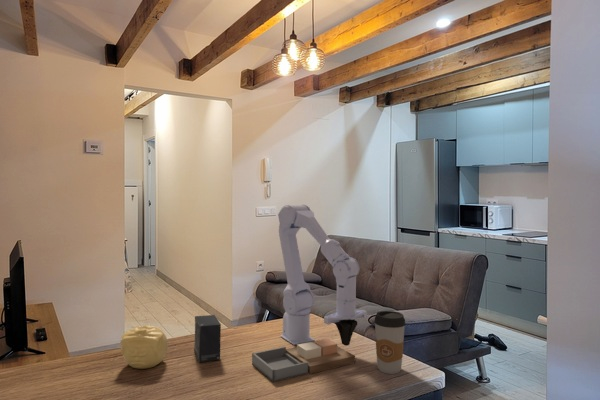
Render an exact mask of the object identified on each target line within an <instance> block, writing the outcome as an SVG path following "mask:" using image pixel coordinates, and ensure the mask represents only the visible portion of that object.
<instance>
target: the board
mask: <svg viewBox="0 0 600 400" xmlns="http://www.w3.org/2000/svg"><path fill="white" fill-rule="evenodd" d="M286 353H287V354H289V355H290V356H292V357H293V358H295V359H296V360H297V361H299V362H300V363H303V362H308V374H309V375H312V374H316V373H320V372H324V371H328V370H332V369H337V368H339V367H344V366H348V365H352V364H356V355H354V354H352V353H351V352H349V351H347V350H345V349H344V348H341V347H340V346H338V345H337V353H333V354H328V355H324V356H322V355H321V356H319V357H315V358H311V359H305V358H303V357H302V356H300V355H299V354H297V346H294V347H290V348H286Z"/></svg>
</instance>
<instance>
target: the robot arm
mask: <svg viewBox="0 0 600 400" xmlns="http://www.w3.org/2000/svg"><path fill="white" fill-rule="evenodd" d="M277 216H278V222H279V225H278V236H279V241H280V247H281V252H282V257H283V258H282V259H283V264H284V265H283V266H284V270H285V275H286V276H285V277H286V281H287V284H286V287H285V288H284V290H283V292H282V294H283V300H282V305H283V309H284V311H285V312H284V313H283V317H282V334H280V335H279V336H280V337H281V338H282V339H284V340H285V341H287V342H288V343H290V344H292V345H293V346H295V345H296V346H297V345H299V344H303V343H308V342H313V341H316V339H315V337H314V338H313V337H312V336H310V335H311V334H310V329H311V328H310V324H311V323H310V322H311V321H310V317H311V316H310V314H311V313H310V312H311V311H312V308H313V306H314V304H315V296H314V294H313V293H312V290H311V286H310V285H309V284H308V283H307V282H306V281H305V278H304V273H303V266H302V262H301V261H302V260H301V257H300V252H299V245H298V240H297V239H298V238H297V234H298V232H299V231H300V229H301V228H303V229H306V231H307V232H308V233H309V234H310V235H311V236H312V237H313V238H314V240H315V241H316V242H317V243H318V244H319V245H320V252H321V253H322V255H323V256H324V258H326V260H327V261H328V262H329V264H330V265H331V267H333V268H332V272H333V273H332V274H333V275H334V278H335V283H336V309H335V310H336V312H334V313H331V314H328V315H325V316H324V317H323V319H324V320H323V322H324V324H326V325H328V326H329V325H331V324H335V326H336V328H337V330H338V333H339V337H340V340H341V341H340V342H341V344H342V345H344V346H350V344H351V339H352V337H353V333H354V331H355V330H356V327H357V326H358V321H357V320H358V319H361V318H363V319H366V318H367V317H368V314H367V313H368V311H366V310H364V309H357V306H356V305H357V304H356V302H357V297H356V296H357V295H356V294H357V291H356V289H357V285H356V284H357V276H358V275H359V274H360V270H361V269H360V264H359V262H358V260H357V259H356V258H354V257H350V255H349V254H348V253H346V251H345V250H344V249H343V248H342V247H341V246H342V245H341V243H340V242H339V241H338V240H336V239H333V238H332V239H331V238H330V237H329V236H328V235H327V233H326V232H325V229H323V228H322V226H321V224H320V222H318V220H317V219H316V217H315V213H314V211H313V210H311V208H310V207H309V205H307V204H300V205H290V204H287V205H284V206H283V207H281V209H280V210H279V212H278V214H277ZM356 309H357V310H356Z"/></svg>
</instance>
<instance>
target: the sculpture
mask: <svg viewBox="0 0 600 400" xmlns="http://www.w3.org/2000/svg"><path fill="white" fill-rule="evenodd" d="M167 351H168V339H167V336H166V334H165V332H164V331H163V330H162V329H161V328H159V327H157V326H153V325H143V326H142V325H141V326H140V325H137V326H135V327H134V328H132V329H129V331H126V332H124V333H122V336H121V340H120V354H121V355H122V357H123V358H124V360H125V362H126V363H127V364H128V366H130V367H131V368H133V369H138V370H139V369H141V370H143V369H144V370H145V369H150V368H153V367H156V366H157V365H159V364H160V363H161V362H163V360H164V359H165V357H166V355H167Z"/></svg>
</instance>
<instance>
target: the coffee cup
mask: <svg viewBox="0 0 600 400" xmlns="http://www.w3.org/2000/svg"><path fill="white" fill-rule="evenodd" d="M374 327H375V329H374V331H375V349H376V350H375V351H376V364H377V365H376V366H377V368H378V370H379V372H381V373H384V374H387V375H388V374H389V375H391V374H392V375H394V374H399V373H400V371H401V369H402V367H403V366H402V365H403V354H404V346H405V345H404V344H405V343H404V341H405V340H404V337H405V328H406V319H405V317H404V314H403V313H401V312H398V311H393V310H381V311H377V312H376V314H375V316H374Z"/></svg>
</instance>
